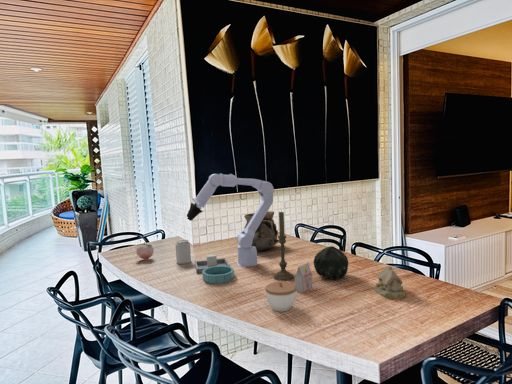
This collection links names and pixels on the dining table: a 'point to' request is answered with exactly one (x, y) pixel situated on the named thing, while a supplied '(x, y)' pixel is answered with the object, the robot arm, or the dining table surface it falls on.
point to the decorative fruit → (145, 251)
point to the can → (183, 252)
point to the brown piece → (264, 232)
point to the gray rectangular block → (211, 260)
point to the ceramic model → (389, 284)
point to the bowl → (218, 274)
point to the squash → (331, 263)
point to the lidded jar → (281, 295)
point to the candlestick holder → (282, 252)
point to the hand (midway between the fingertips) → (188, 218)
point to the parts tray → (203, 265)
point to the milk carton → (303, 278)
